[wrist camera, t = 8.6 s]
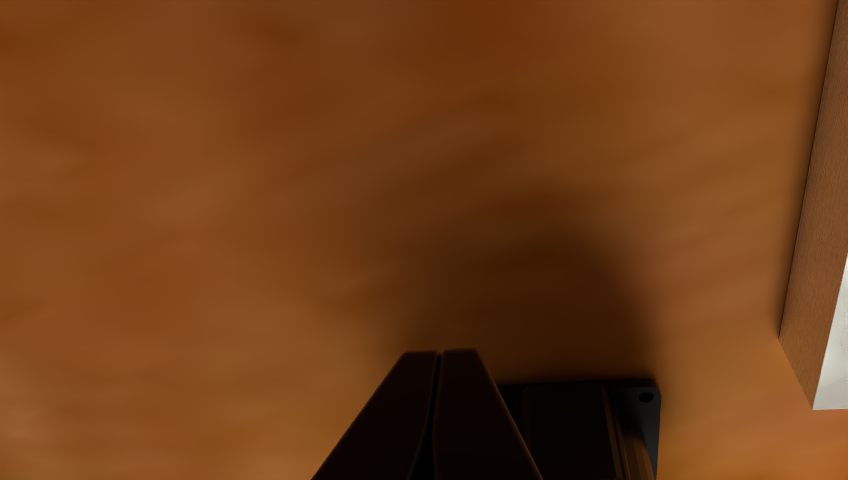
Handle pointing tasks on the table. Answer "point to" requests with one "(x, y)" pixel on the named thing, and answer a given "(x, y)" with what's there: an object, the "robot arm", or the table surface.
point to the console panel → (823, 247)
